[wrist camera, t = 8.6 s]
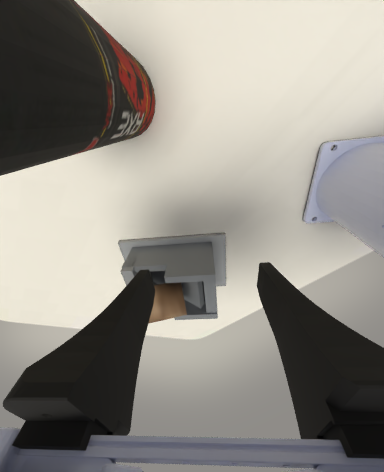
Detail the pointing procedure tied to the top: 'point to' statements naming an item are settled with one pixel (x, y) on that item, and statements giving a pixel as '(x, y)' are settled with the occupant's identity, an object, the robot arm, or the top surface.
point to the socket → (181, 267)
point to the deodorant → (64, 84)
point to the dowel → (168, 302)
